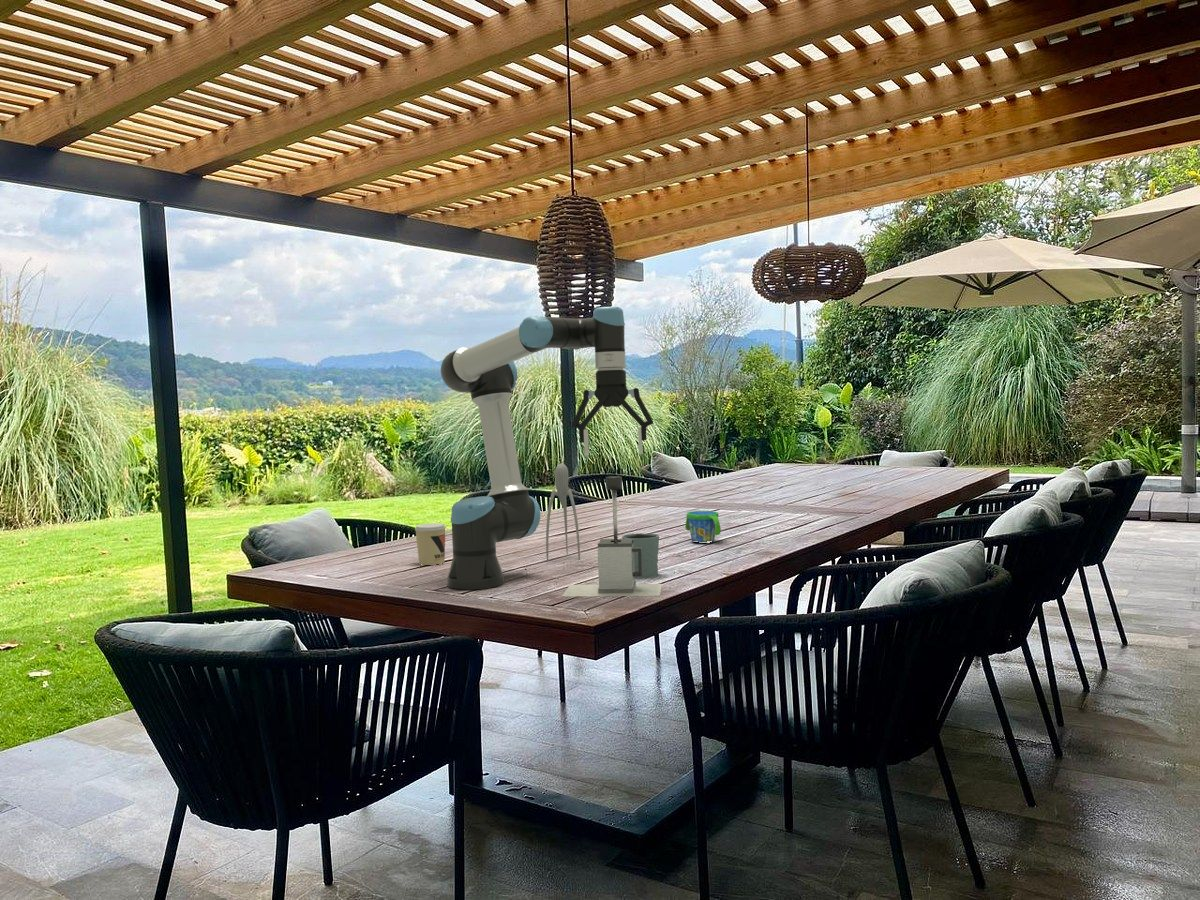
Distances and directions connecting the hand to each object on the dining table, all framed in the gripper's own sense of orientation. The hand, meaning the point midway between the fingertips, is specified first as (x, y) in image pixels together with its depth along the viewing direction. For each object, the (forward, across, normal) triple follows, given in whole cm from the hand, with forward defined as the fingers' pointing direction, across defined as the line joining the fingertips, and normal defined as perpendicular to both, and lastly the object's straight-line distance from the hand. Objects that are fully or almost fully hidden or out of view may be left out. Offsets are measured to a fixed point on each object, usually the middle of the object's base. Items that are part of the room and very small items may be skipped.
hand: (613, 454), depth 229 cm
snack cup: (+35, +22, +80) cm, 90 cm away
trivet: (+35, -1, 0) cm, 35 cm away
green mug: (+36, +5, +19) cm, 41 cm away
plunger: (+24, 0, 0) cm, 24 cm away
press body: (+34, 0, 0) cm, 34 cm away
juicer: (+35, -21, +53) cm, 67 cm away
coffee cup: (+35, -62, +47) cm, 86 cm away
